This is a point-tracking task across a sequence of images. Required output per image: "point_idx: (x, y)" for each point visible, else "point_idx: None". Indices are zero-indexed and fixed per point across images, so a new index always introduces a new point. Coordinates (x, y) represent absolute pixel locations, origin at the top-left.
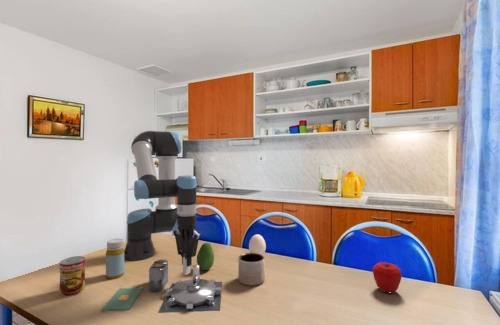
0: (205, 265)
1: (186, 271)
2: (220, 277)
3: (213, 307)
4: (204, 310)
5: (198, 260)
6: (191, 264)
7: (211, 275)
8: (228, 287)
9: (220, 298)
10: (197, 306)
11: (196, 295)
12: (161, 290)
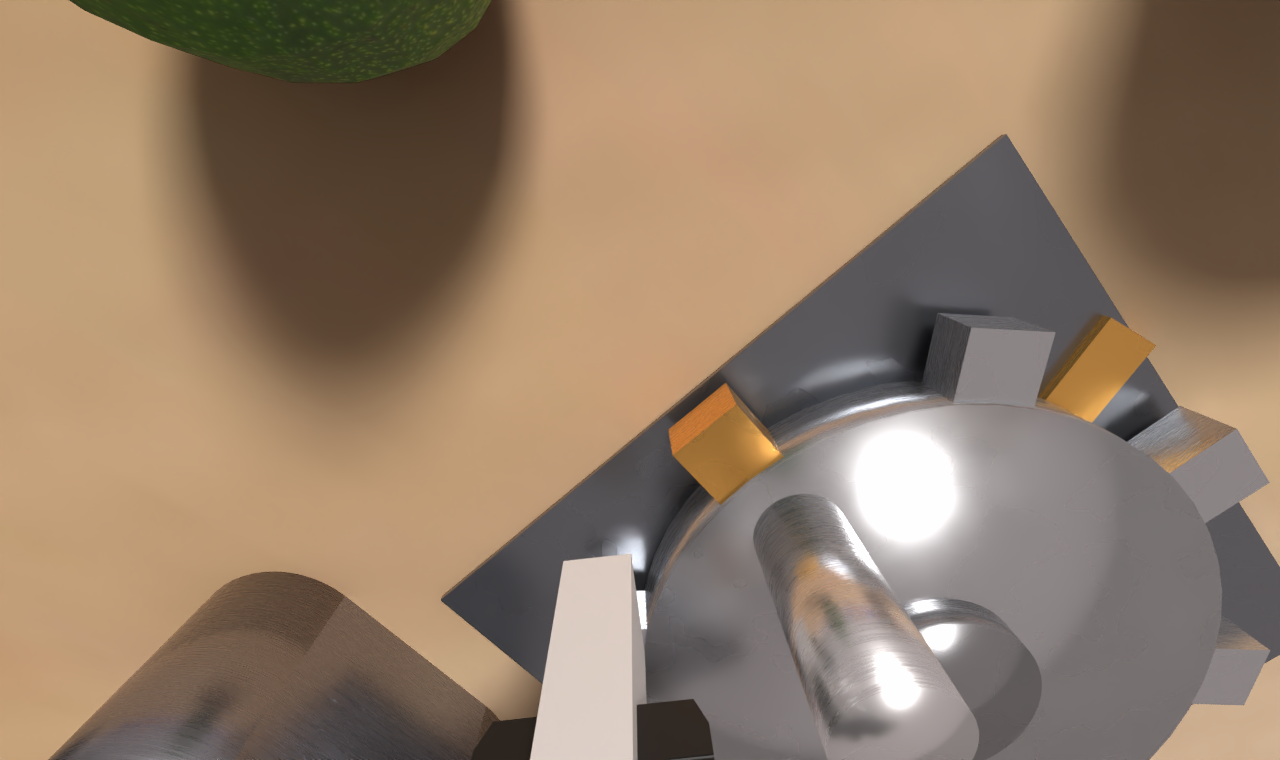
0: (479, 13)
1: (645, 684)
2: (869, 8)
3: None
4: None
5: (250, 68)
6: (702, 713)
7: (678, 56)
8: (1179, 207)
9: None
10: None
11: (1062, 740)
12: None
